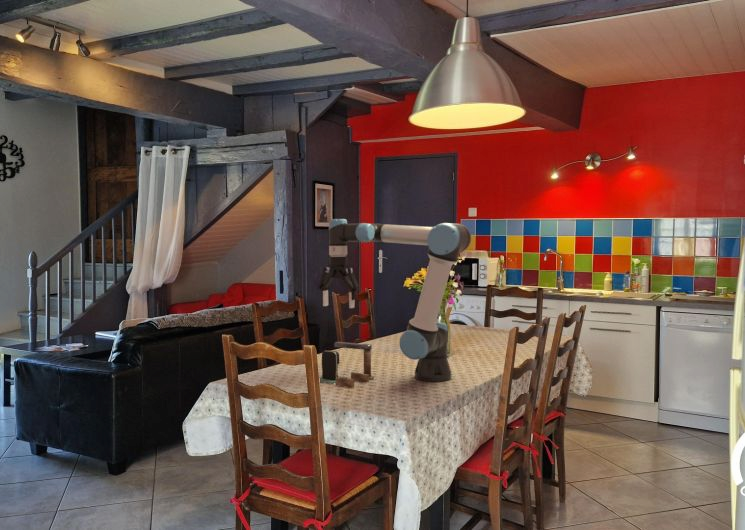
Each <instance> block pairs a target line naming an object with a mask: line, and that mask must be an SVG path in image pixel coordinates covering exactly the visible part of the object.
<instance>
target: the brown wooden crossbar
mask: <svg viewBox="0 0 745 530" xmlns="http://www.w3.org/2000/svg"><path fill="white" fill-rule="evenodd" d="M333 345H334V346H333V347H335V348H342V349H343V348H344V349H352V350H353V349H354V350H355V349H356V350H363V351H364V350H371V351H372V350H373V349H372V348H373V347H372V344H370V343H356V342H355V343H354V342H345V341H336V342H334V344H333Z"/></svg>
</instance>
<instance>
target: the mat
mask: <svg viewBox="0 0 745 530" xmlns="http://www.w3.org/2000/svg"><path fill="white" fill-rule="evenodd" d="M338 377H341V378H347V379H349V378H348V377H345V376H339V375H338ZM319 378H320V382H319V383H322V384H323V383H325V384H328V383H331V384H330V385H334V383H335V384H336V380H330V379H324V378H322V376H320V377H319Z"/></svg>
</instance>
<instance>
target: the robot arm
mask: <svg viewBox="0 0 745 530" xmlns="http://www.w3.org/2000/svg"><path fill="white" fill-rule="evenodd" d="M328 237H329V238H328V239H329V241H328V251H329V252H328V255H329V258H328V259H329V263H328V264H329V266H328V267H325V266H324V267H323V269H322V270H323V271H322V275H321V277H320V280H319V283H318V285H317V289H318V290H321V298H322V306H323V307H327V306H329V290H328V288H329V286H330V285H331V284H332V282H333V281H334V279H341V280H342V281H343V282H344V283H345V285H346V286H347V288H348V289H349V293H348V300H349V301H348V306H349V307H348V308H349V309H354V308H355V303H356V302H355V301H356V300H357V292H358V291H360V290H361V287H360V286H359V283H358V279H357V278H356V276H355V273H354V268H353V267H347V266H348V257H347V256H348V243H351V242H352V243H369V242H377V243H391V244H403V245H404V244H405V245H418V246H428V250H427V255H428V258H429V262H428V266H427V269H426V270H427V271H426V273H425V277H424V280H423V284H422V288H421V291H420V295H419V298H418V303H417V307H416V310H415V313H414V317H412V318H410V319H409V321H408V324H407V328H406V331H404V332H403V333H402V334H401V336H400V337H399V341H398V342H399V349H400V350H401V352H402V354H403V355H404V356H405V357H406V358H408V359H410V360H417V363H416V367H415V370H414V379H416V380H418V381H421V382H422V381H423V382H435V383H436V382H437V383H438V382H445V381H450V380H451V379H452V375H453V374H452V371H451V367H450V364H449V361H448V332H449V330H448V324H447V323H445V322H440V321H438V322H437V320H438V316H439V313H440V309H441V306H442V302H443V299H444V295H445V292H446V288H447V283H448V280H449V277H450V273H451V270H452V267H453V265H455V264H456V263H458V260H459V256H460V253H463V252H464V251H466V250H467V249H468V248H469V246H470V245H471V241H472V234H471V232H470V230H469V228H468V227H467V226H466V225H464V224H463V223H451V222H450V223H449V222H442V223H438V224H436V225H434V226H420V225H405V224H404V225H403V224H401V225H400V224H387V223H386V224H384V223H366V222H360V223H359V222H358V223H348V220H347V219H345V218H331V219H330V220H329V222H328ZM329 273H330V274H329Z"/></svg>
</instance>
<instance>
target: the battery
mask: <svg viewBox="0 0 745 530" xmlns="http://www.w3.org/2000/svg"><path fill="white" fill-rule="evenodd" d="M339 364H340V353H339V352H338V351H336V350H330V349H329V350H324V351H322V353H321V370H322V371H321V377H322V378H324V379H330V380H336V377H338V376H339V374H338V366H339Z"/></svg>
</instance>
